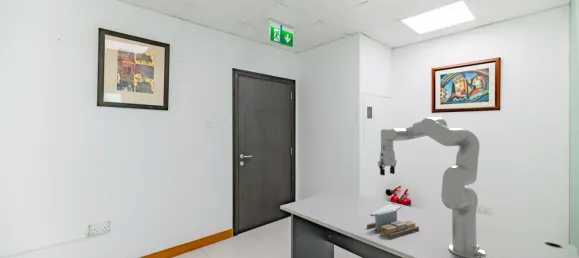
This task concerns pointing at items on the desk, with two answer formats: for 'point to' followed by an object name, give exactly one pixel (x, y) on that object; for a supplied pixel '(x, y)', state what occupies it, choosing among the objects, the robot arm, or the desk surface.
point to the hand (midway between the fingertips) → (387, 174)
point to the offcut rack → (394, 232)
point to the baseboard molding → (386, 209)
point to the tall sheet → (385, 218)
